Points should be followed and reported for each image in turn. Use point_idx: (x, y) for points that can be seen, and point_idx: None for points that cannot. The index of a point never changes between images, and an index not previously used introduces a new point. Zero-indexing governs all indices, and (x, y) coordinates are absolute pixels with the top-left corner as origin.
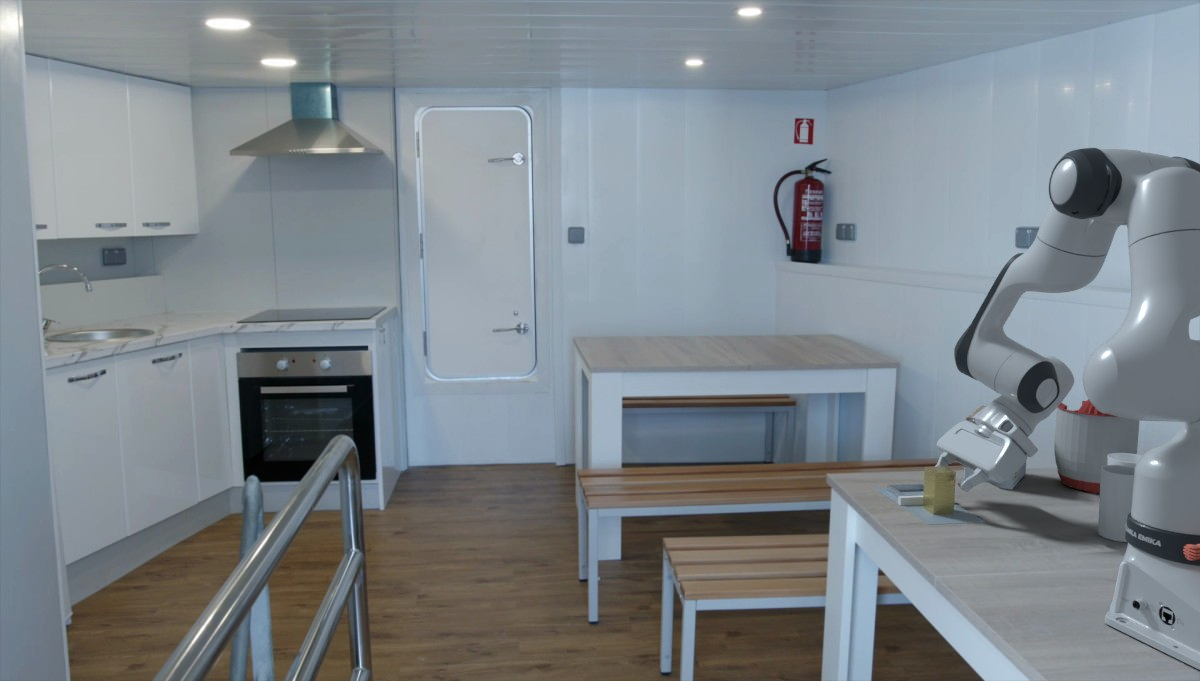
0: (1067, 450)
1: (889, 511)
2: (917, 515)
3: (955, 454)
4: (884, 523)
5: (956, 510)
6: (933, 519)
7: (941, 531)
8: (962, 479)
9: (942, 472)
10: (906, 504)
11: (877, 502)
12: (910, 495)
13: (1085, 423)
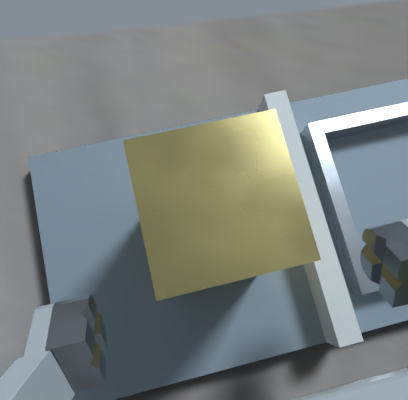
0: None
1: (239, 80)
2: None
3: (406, 370)
4: (102, 35)
5: (220, 321)
6: (89, 189)
7: (21, 206)
8: (77, 327)
9: (139, 193)
10: None
11: (340, 62)
12: (327, 150)
13: None
